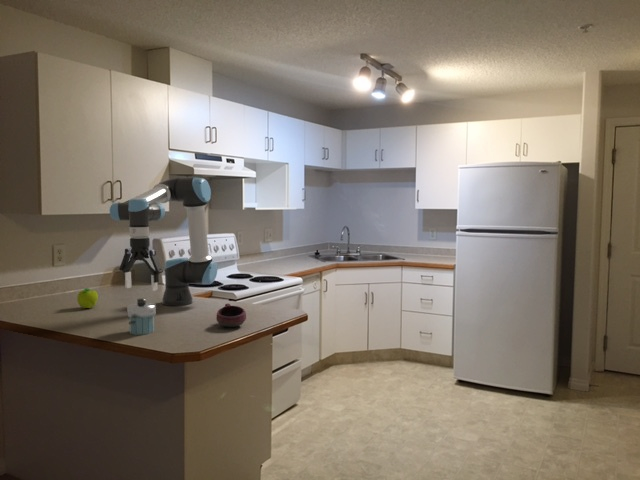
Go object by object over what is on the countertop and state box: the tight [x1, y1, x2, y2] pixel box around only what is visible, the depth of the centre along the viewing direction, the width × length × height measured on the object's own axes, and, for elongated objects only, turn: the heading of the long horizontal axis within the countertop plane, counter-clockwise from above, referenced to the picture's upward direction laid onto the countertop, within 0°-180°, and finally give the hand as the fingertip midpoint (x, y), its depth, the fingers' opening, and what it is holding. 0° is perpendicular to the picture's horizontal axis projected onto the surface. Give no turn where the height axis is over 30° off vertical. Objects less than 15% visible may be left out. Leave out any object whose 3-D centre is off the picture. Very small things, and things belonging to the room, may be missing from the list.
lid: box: [126, 297, 157, 318], centre depth 217 cm, size 11×11×6 cm
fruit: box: [76, 287, 99, 309], centre depth 261 cm, size 9×9×10 cm
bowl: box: [215, 303, 247, 328], centre depth 228 cm, size 16×13×8 cm
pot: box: [128, 315, 155, 336], centre depth 218 cm, size 13×9×7 cm
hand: (141, 289), depth 217 cm, fingers open, 13 cm apart
